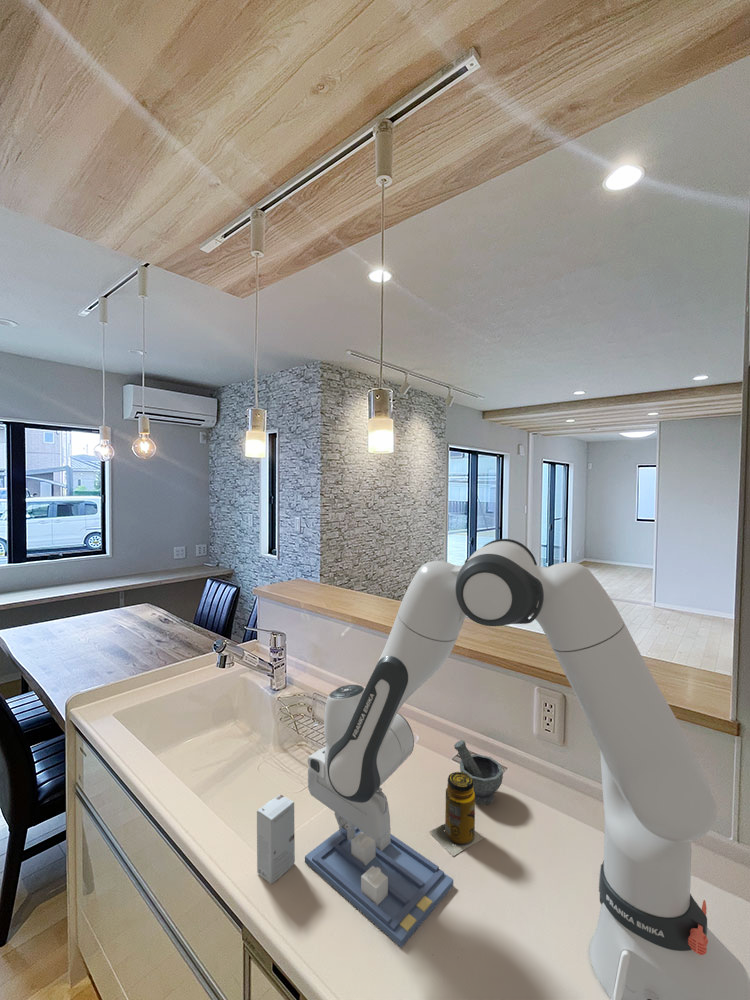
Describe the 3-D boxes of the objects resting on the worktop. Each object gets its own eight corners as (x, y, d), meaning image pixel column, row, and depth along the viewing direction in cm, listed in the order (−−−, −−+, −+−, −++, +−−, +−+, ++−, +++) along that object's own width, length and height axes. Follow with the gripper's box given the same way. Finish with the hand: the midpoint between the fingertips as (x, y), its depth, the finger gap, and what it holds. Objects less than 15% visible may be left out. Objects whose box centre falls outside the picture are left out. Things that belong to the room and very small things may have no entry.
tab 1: (375, 856, 88) (375, 836, 88) (364, 866, 86) (364, 846, 85) (362, 846, 90) (362, 827, 90) (351, 855, 88) (351, 835, 88)
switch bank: (453, 885, 83) (453, 875, 83) (401, 947, 72) (401, 935, 72) (359, 819, 99) (359, 810, 99) (304, 862, 88) (304, 852, 88)
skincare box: (271, 885, 83) (271, 821, 83) (255, 873, 86) (255, 810, 85) (296, 862, 88) (296, 801, 88) (280, 851, 91) (279, 792, 90)
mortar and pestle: (504, 788, 110) (505, 739, 109) (500, 814, 101) (500, 762, 100) (457, 776, 114) (458, 729, 113) (449, 801, 105) (450, 750, 104)
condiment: (483, 838, 94) (484, 782, 94) (453, 857, 90) (453, 797, 89) (458, 816, 100) (459, 763, 100) (429, 833, 96) (429, 777, 95)
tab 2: (387, 894, 80) (387, 872, 80) (376, 906, 78) (376, 884, 77) (372, 882, 82) (372, 861, 82) (361, 893, 80) (361, 871, 80)
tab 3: (390, 843, 91) (390, 823, 91) (380, 852, 89) (380, 832, 89) (377, 833, 94) (377, 814, 93) (367, 842, 91) (367, 822, 91)
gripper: (397, 783, 86) (397, 854, 86) (325, 741, 100) (325, 803, 100) (374, 800, 81) (375, 875, 82) (302, 754, 95) (302, 818, 96)
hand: (347, 835), depth 91 cm, fingers closed
